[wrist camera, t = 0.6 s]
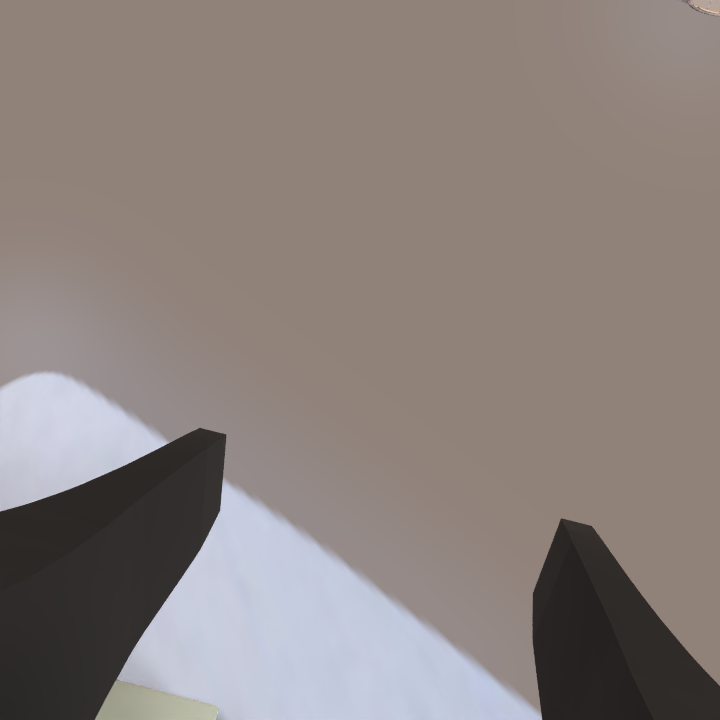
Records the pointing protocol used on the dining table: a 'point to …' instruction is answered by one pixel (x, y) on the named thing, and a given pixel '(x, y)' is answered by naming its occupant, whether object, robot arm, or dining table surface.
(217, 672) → the dining table surface
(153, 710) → the pale green toy table
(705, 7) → the beer glass
